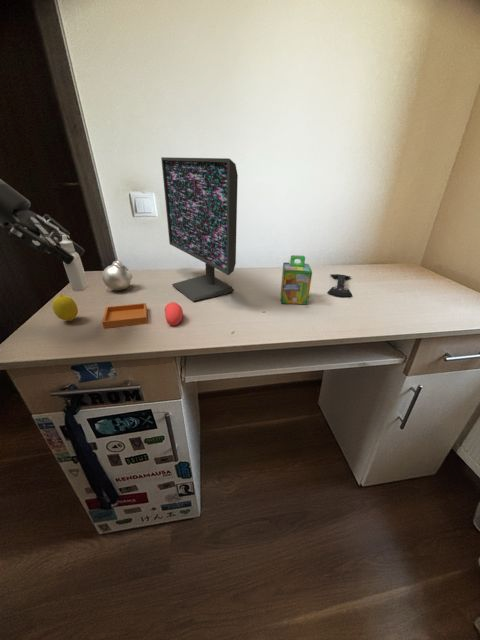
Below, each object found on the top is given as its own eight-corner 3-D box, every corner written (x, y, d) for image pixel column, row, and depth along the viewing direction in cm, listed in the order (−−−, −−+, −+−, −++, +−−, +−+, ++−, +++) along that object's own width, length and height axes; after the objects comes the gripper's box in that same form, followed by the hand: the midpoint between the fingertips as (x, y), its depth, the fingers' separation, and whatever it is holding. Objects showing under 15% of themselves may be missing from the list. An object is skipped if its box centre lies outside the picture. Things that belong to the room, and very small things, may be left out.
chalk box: (280, 304, 95) (284, 259, 87) (280, 293, 103) (283, 252, 94) (308, 305, 95) (314, 261, 87) (305, 294, 102) (310, 253, 94)
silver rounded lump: (136, 292, 99) (129, 263, 93) (106, 295, 95) (97, 266, 90) (133, 283, 106) (127, 256, 100) (106, 286, 102) (98, 259, 97)
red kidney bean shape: (188, 318, 87) (179, 298, 85) (184, 321, 78) (174, 299, 77) (173, 324, 87) (163, 305, 85) (167, 328, 78) (157, 307, 76)
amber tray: (104, 328, 77) (102, 322, 76) (107, 312, 85) (105, 306, 84) (147, 323, 80) (146, 317, 79) (147, 308, 88) (145, 302, 87)
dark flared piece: (351, 277, 121) (352, 269, 120) (352, 298, 101) (354, 289, 99) (329, 274, 123) (331, 267, 121) (326, 295, 103) (328, 286, 101)
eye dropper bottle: (96, 284, 70) (81, 233, 64) (81, 292, 66) (64, 238, 59) (79, 283, 71) (63, 232, 64) (64, 291, 66) (44, 237, 60)
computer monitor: (159, 276, 113) (139, 156, 91) (196, 270, 122) (185, 158, 100) (212, 317, 85) (201, 156, 63) (255, 305, 93) (259, 160, 71)
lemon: (71, 326, 77) (61, 299, 73) (54, 324, 78) (42, 297, 73) (85, 318, 82) (76, 291, 77) (68, 315, 82) (59, 289, 78)
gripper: (-23, 184, 49) (74, 253, 58) (21, 180, 61) (96, 238, 69) (-41, 216, 51) (55, 279, 60) (5, 207, 63) (79, 260, 71)
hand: (77, 257), depth 65 cm, fingers closed on eye dropper bottle, 5 cm apart
